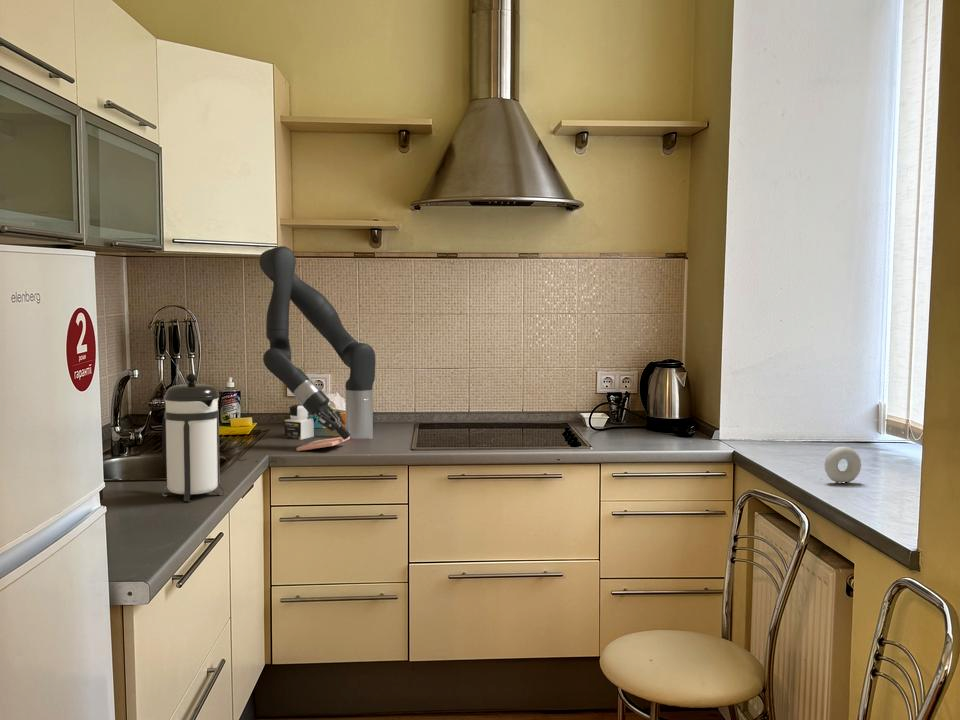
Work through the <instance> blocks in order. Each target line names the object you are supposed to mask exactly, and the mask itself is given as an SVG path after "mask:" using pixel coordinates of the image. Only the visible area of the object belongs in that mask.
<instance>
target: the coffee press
mask: <svg viewBox="0 0 960 720" xmlns="http://www.w3.org/2000/svg"><path fill="white" fill-rule="evenodd" d="M185 378H186V381H187V383H181V384H180V383H179V384H176V385H172V386H170V387H168V389H166V392H165V394H164V395H163V401H164V402H165V410H164V412H163V416H162V420H161V421H162V423H161V438H162V439H161V443H162V445H161V447H162V458H163V462H164V465H165V476H166V477H165V480H166V481H165V486H164V488H163V490H162V492H161V493H160V495H161V496H162V497H164V498H165V497H168V496H169V495H170V494H171V493H173V494H177V495H183V503H190V502H191V501H192V500H191V499H192V496H193V495H200V494H201V495H202V494H206V493H211V492H213V493H216V494H217V496H220V497H221V496H223V495H225V493H226V490H225V488H224V487H223V486H222V485H221V474H220V473H221V472H220V471H221V469H220V468H221V467H220V466H221V465H220V460H221V459H220V420H219V417H220V414H219V413H220V410H219V408H218V407H219V405H218V404H219V402H218V401H219V398H220V394H219V393H218V391H217V389H216V388H215V386H213V385H210V384H207V383H196V381H197V376H196V374H194V373H189V374H187V376H186V377H185ZM218 487H219V488H220V489H221V491H222V492H223V493H220V492H219V491H218V490H217V488H218ZM166 488H167V489H168V491H169V493H167V494H165V493H164V492H165V490H166Z"/></svg>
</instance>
